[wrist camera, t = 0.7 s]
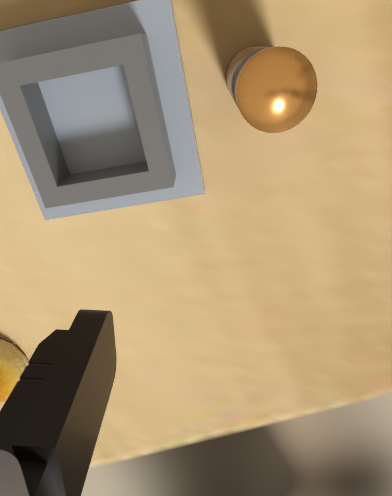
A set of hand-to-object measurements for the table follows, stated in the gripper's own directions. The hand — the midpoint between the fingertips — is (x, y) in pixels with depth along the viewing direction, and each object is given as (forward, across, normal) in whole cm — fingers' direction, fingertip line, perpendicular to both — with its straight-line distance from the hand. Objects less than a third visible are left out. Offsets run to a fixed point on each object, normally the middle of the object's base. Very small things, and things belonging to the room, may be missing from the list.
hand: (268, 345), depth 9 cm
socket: (+23, +10, -1) cm, 25 cm away
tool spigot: (+23, -2, -5) cm, 24 cm away
